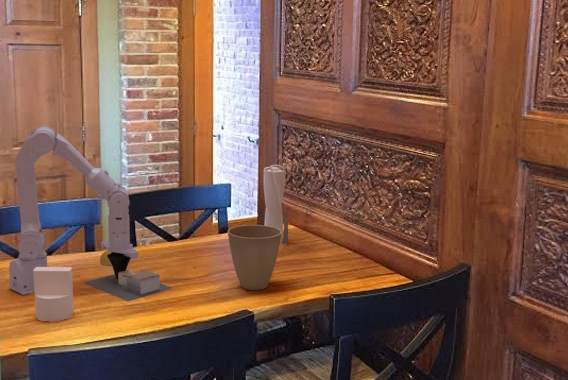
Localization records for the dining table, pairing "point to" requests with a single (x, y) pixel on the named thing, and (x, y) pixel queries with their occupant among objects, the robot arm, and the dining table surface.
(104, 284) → the mat
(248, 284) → the plant pot
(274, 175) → the skyscraper
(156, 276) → the end cap
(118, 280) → the pale grey rectangular bar
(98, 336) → the dining table surface
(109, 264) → the bread roll
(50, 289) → the base with upright slab
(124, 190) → the robot arm
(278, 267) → the dining table surface
